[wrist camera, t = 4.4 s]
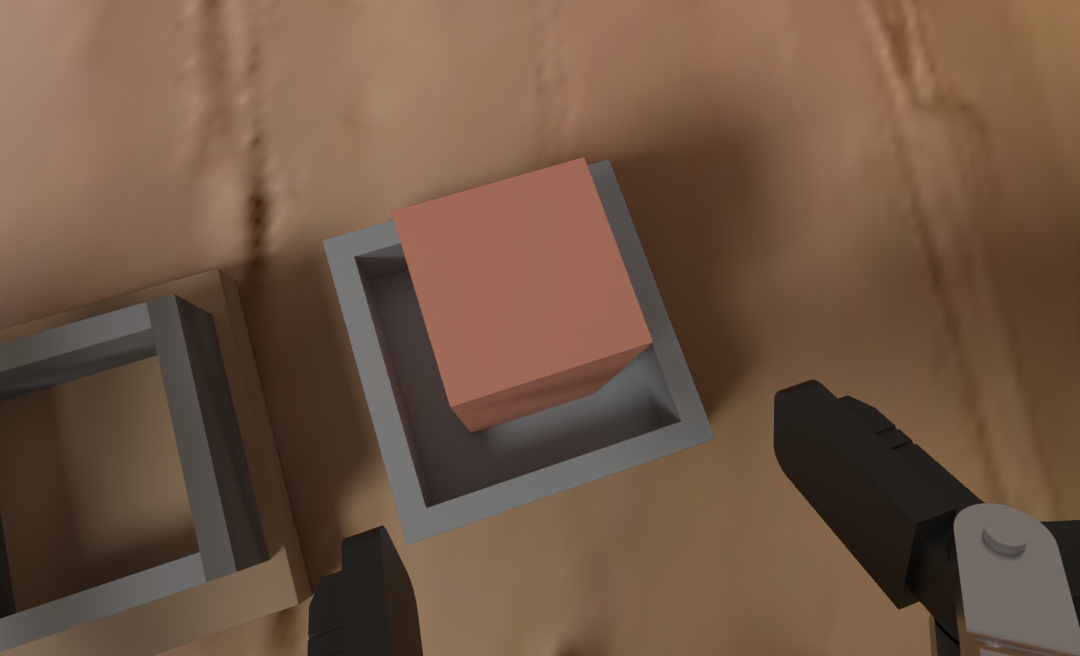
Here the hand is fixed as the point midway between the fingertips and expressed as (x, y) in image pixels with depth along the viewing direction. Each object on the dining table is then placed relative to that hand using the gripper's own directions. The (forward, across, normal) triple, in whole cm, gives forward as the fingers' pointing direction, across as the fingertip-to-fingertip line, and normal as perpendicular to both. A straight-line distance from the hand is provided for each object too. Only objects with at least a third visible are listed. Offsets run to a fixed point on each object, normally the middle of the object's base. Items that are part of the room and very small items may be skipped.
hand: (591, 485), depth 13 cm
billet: (+10, 0, +3) cm, 10 cm away
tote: (+10, 0, +4) cm, 11 cm away
